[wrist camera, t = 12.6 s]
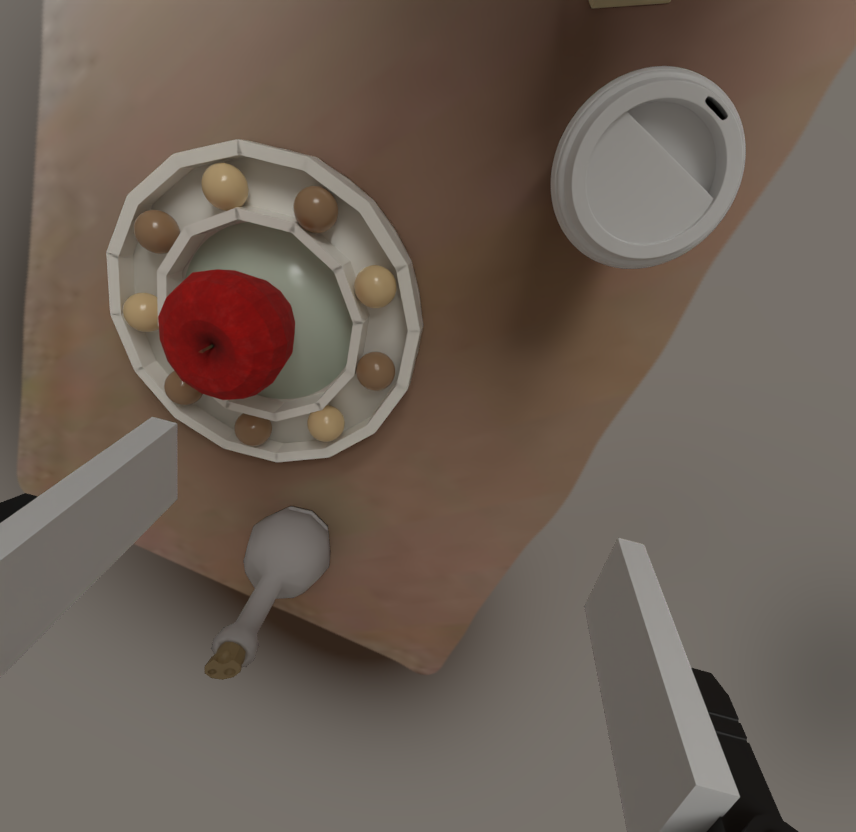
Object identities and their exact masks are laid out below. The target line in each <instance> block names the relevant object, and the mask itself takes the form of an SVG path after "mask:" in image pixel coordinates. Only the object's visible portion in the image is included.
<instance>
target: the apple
mask: <svg viewBox="0 0 856 832" xmlns="http://www.w3.org/2000/svg"><path fill="white" fill-rule="evenodd" d="M158 323H159V337H160V342H161V344H162V347H163V350H164V353H165V356H166V359H167V361H168V363H169V364H170V365H171V367H172V368H173V369H174V371H175V372H176V373H177V375H178V376H179V378H180V379H181V380H182V381H183V382H185V383H186V384H188V385H189V386H191V387H192V388H194V389H195V390H197V391H198V392H200V393H202V394H205V395H208V396H211V397H214V398H218V399H221V400H232V399H245V398H248V397H251V396H254V395H257V394H258V393H260V392H261V391H262V390H264V389H265V388H267V387H268V386H269V385H271V384H272V383H273V382H274V381H275V379H276V378H277V376H278V375H279V373H280V372H281V370H282V369H283V367H284V365H285V364H286V362H287V361H288V359H289V358H290V356H291V355H292V353H293V344H294V335H295V319H294V315H293V311H292V307H291V305H290V303H289V302H288V300H287V299H286V298H285V296H284V295H283V294H282V292H281V291H280V290H278V289H277V288H276V287H274V286H273V285H272V284H271V283H269V282H268V281H266V280H263V279H260V278H257V277H254V276H251V275H248V274H245V273H242V272H239V271H236V270H222V269H215V270H208V271H200V272H192V273H191V274H190V275H189V276H188V277H187V278H186V279H185V280H184V281H183V282H182V283H181V284H179V285H178V286H177V287H176V288H175V289H174V290H173V291H172V292H171V293H170V294H169V295H168V296H167V297H166V299H165V302H164V304H163V306H162V309H161V311H160V314H159V316H158Z"/></svg>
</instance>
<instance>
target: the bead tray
mask: <svg viewBox="0 0 856 832" xmlns="http://www.w3.org/2000/svg"><path fill="white" fill-rule="evenodd" d="M106 254H107V271H108V287H109V303H110V315H111V317H112V319H113V322H114V324H115V326H116V329H117V331H118V333H119V336H120V338H121V340H122V343H123V345H124V347H125V350H126V352H127V354H128V357H129V359H130V361H131V364H132V366H133V368H134V371H135V372H136V373H137V374H138V376H139V377H140V378H141V379H142V380H143V381H144V383H145V384H146V385H147V386H148V387H149V388H150V390H151V391H152V392H153V393H154V394H155V395H156V397H157V398H158V399H159V400H160V401H161V402H162V404H163V405H164V406H165V407H166V408H167V409H168V411H169V412H170V413H171V414H172V415H173V416H174V417H175V418H176V419H178V420H179V421H181V422H183V423H184V424H186V425H187V426H189V427H190V428H192V429H194V430H195V431H197V432H198V433H200V434H201V435H203V436H205V437H206V438H208V439H209V440H211V441H213V442H214V443H216V444H217V445H219V446H220V447H222V448H224V449H227V450H231V451H235V452H239V453H243V454H247V455H250V456H254V457H258V458H262V459H266V460H270V461H274V462H286V461H297V460H307V459H318V458H329V457H331V456H333V455H335V454H337V453H339V452H340V451H342V450H344V449H346V448H348V447H350V446H352V445H353V444H355V443H357V442H359V441H361V440H363V439H365V438H367V437H368V436H370V435H372V434H374V433H375V432H376V431H377V430H378V428H379V427H380V426H381V424H382V423H383V422H384V420H385V419H386V418H387V416H388V415H389V414H390V412H391V411H392V410H393V408H394V407H395V406H396V404H397V403H398V402H399V400H400V399H401V398H402V396H403V395H404V394H405V392H406V391H407V390H408V387H409V385H410V383H411V379H412V375H413V370H414V366H415V362H416V358H417V355H418V351H419V345H420V339H421V334H422V330H423V320H422V309H421V300H420V291H419V287H418V283H417V279H416V275H415V271H414V268H413V265H412V261H411V259H410V257H409V255H408V253H407V250H406V248H405V246H404V245H403V243H402V241H401V239H400V237H399V235H398V233H397V231H396V230H395V228H394V227H393V225H392V224H391V223H390V221H389V220H388V218H387V217H386V216H385V214H384V213H383V211H382V210H381V209H380V208H379V207H378V205H377V204H376V202H375V201H374V200H373V199H372V198H370V197H369V196H368V195H367V194H366V193H365V192H364V191H363V190H362V189H360V188H359V187H358V186H357V185H356V184H355V183H353V182H352V181H351V180H350V179H349V178H347V177H346V176H344V175H342V174H341V173H339V172H338V171H336V170H335V169H333V168H332V167H330V166H328V165H326V164H325V163H324V162H322V161H321V160H320V159H319V158H317V157H314V156H310V155H306V154H302V153H298V152H294V151H291V150H288V149H283V148H278V147H273V146H269V145H265V144H261V143H257V142H253V141H249V140H241V139H236V140H232V141H227V142H223V143H218V144H214V145H210V146H205V147H201V148H196V149H192V150H188V151H183V152H179V153H174V154H172V155H171V156H170V157H169V158H168V159H167V160H166V161H165V162H163V163H162V164H161V165H160V166H159V167H158V168H157V169H156V170H155V171H153V172H152V173H151V174H150V175H149V176H148V177H147V178H146V179H145V180H143V181H142V182H141V183H140V184H139V185H138V186H137V187H136V188H135V189H133V190H132V191H131V192H130V193H129V194H128V195H127V197H126V200H125V203H124V206H123V208H122V211H121V214H120V216H119V219H118V222H117V225H116V227H115V230H114V233H113V236H112V238H111V241H110V244H109V246H108V249H107V252H106ZM215 269H222V270H236V271H239V272H242V273H245V274H248V275H251V276H254V277H257V278H260V279H263V280H266V281H268V282H269V283H271V284H272V285H273V286H274V287H276V288H277V289H278V290H280V291H281V292H282V294H283V295H284V296H285V298H286V299H287V300H288V302H289V303H290V305H291V307H292V311H293V315H294V319H295V335H294V344H293V353H292V355H291V356H290V358H289V359H288V361H287V362H286V364H285V365H284V367H283V369H282V370H281V372H280V373H279V375H278V376H277V378H276V379H275V381H274V382H273V383H272V384H271V385H269V386H268V387H267V388H265V389H264V390H262V391H261V392H260V393H258V394H257V395H254V396H251V397H248V398H245V399H232V400H221V399H218V398H214V397H211V396H208V395H205V394H202V393H200V392H198V391H197V390H195V389H194V388H192V387H191V386H189V385H188V384H186V383H185V382H183V381H182V380H181V379H180V378H179V376H178V375H177V373H176V372H175V371H174V369H173V368H172V367H171V365H170V364H169V363H168V361H167V359H166V356H165V353H164V350H163V347H162V344H161V342H160V337H159V323H158V316H159V314H160V311H161V309H162V306H163V304H164V302H165V299H166V297H167V296H168V295H169V294H170V293H171V292H172V291H173V290H174V289H175V288H176V287H177V286H178V285H179V284H181V283H182V282H183V281H184V280H185V279H186V278H187V277H188V276H189V275H190V274H191V273H192V272H200V271H208V270H215Z"/></svg>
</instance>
